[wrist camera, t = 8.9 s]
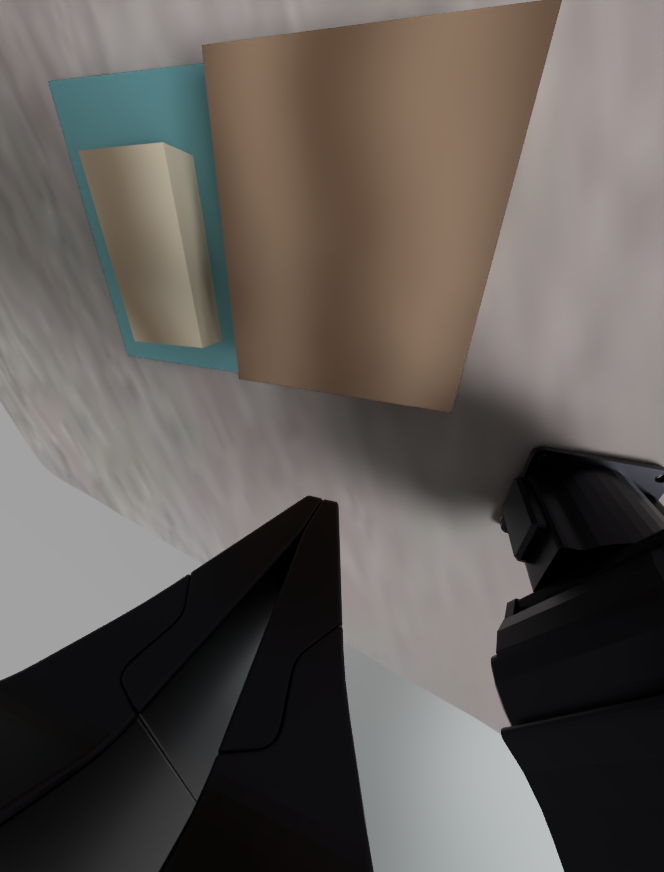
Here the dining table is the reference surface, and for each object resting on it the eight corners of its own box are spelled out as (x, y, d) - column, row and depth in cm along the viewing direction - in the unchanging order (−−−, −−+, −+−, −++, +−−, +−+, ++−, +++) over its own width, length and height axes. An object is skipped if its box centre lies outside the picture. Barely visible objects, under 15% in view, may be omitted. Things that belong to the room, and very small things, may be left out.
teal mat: (247, 66, 13) (239, 59, 13) (266, 373, 20) (262, 376, 20) (60, 87, 16) (48, 81, 16) (134, 353, 23) (127, 355, 23)
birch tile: (78, 150, 15) (114, 162, 16) (134, 341, 19) (159, 335, 21) (162, 142, 14) (193, 155, 15) (202, 348, 18) (222, 340, 20)
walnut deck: (525, 76, 11) (562, -2, 8) (449, 384, 17) (451, 412, 14) (258, 98, 14) (201, 45, 11) (272, 359, 20) (239, 378, 17)
